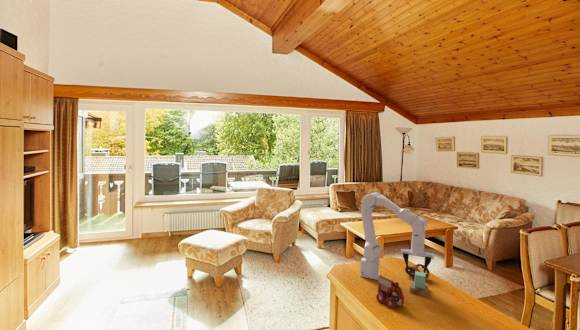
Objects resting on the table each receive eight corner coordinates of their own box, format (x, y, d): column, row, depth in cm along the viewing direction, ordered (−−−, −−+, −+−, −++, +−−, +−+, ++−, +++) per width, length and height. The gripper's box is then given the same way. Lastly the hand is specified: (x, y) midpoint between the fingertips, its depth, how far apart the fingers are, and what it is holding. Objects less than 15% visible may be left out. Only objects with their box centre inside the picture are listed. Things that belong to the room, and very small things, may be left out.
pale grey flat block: (409, 293, 146) (409, 287, 145) (409, 286, 153) (410, 280, 153) (427, 297, 143) (428, 291, 142) (427, 289, 150) (427, 283, 150)
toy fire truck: (397, 312, 129) (399, 288, 128) (373, 299, 138) (374, 277, 137) (406, 306, 133) (408, 283, 132) (381, 294, 143) (383, 273, 142)
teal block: (414, 286, 146) (415, 274, 145) (414, 282, 150) (415, 271, 150) (424, 288, 144) (425, 276, 144) (424, 284, 149) (425, 272, 148)
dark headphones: (420, 273, 168) (428, 264, 164) (425, 288, 160) (433, 278, 156) (399, 268, 167) (407, 258, 163) (404, 283, 159) (411, 273, 154)
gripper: (401, 243, 145) (399, 270, 146) (435, 248, 140) (432, 276, 141) (401, 238, 151) (399, 265, 153) (434, 243, 146) (431, 270, 148)
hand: (415, 270), depth 147 cm, fingers open, 7 cm apart
